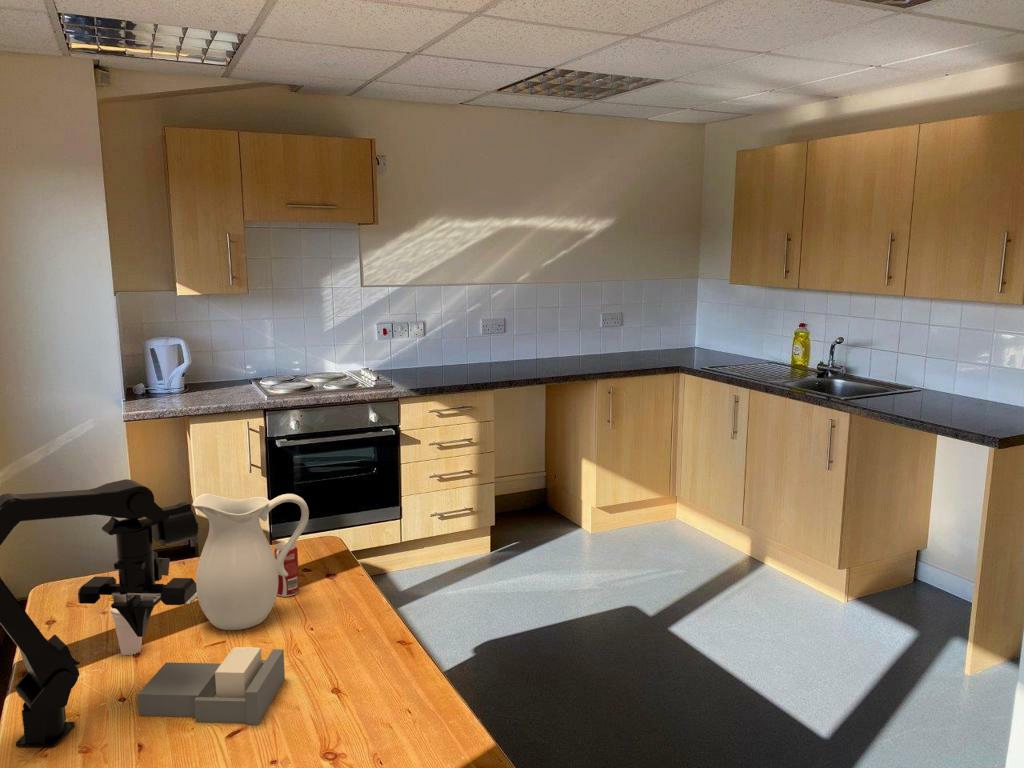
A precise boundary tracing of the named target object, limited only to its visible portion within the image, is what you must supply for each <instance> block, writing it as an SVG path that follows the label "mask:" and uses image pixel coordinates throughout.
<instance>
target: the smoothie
mask: <svg viewBox="0 0 1024 768" xmlns="http://www.w3.org/2000/svg"><path fill="white" fill-rule="evenodd" d="M110 615H111V616H112V619H113V623H114V627H115V633H116V637H117V641H118V646H119V651H120V654H121V653H122V654H124V655H123V656H125V655H129V656H134V655H136V653H137V654H139V653H140V652H141V651H142V643H143V637H138V636H137V635H136V634H135V632H134V631H133V629H132V628H131V626H130V625H129V623H128V622H127V621H126V619H125V618H124V617H123V616H122V615H121V614H120V613H119V611H118V610H117V609H115V608H112V607H111V606H110ZM138 652H139V653H138ZM122 654H121V655H122ZM133 654H134V655H133Z"/></svg>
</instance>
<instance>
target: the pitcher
mask: <svg viewBox="0 0 1024 768" xmlns="http://www.w3.org/2000/svg"><path fill="white" fill-rule="evenodd" d="M284 503H294V504H297V505H298V506H299V508H300V512H301V513H300V514H301V516H300V519H299V522H298V525H297V526H296V529H295V530H294V532H293V533H292V535H291V537H290V538H289V539H288V542H287V541H286V542H287V543H286V545H285V546H284V548H283V549H282V551H281V552H280V554H279V555H278V557H277V559H275V555H274V551H273V549H272V546H271V544H270V543H269V541H268V539H267V536H266V534H265V532H264V531H263V529H262V525H261V522H260V519H261V521H263V522H267V521H268V516H269V515H268V514H269V513H270V512H271V511H272V509H274V508H276V507H277V506H278V505H281V504H284ZM191 507H193V508H194V509H197V510H198V511H199V512H201V513H202V514H204V515H205V517H206V518H207V521H208V523H209V529H208V534H207V537H206V541H205V542H204V545H203V549H202V552H201V553H200V558H199V561H198V564H197V570H196V575H195V576H196V578H195V582H196V587H197V600H198V604H199V606H200V608H201V611H202V612H203V614H204V615H205V616H206V618H207V620H208V621H209V622H210V623H211V624H212V625H213V626H214V627H215V628H217V629H220V630H225V631H239V630H245V629H246V630H247V629H249V628H253V627H255V626H257V625H259V624H261V623H263V621H265V620H266V618H267V617H268V616H269V614H270V612H271V610H272V609H273V607H274V604H275V602H276V600H277V596H278V595H277V592H278V575H281V576H285V577H286V576H288V573H287V572H286V570H285V568H284V559H285V557H286V555H287V553H288V552H289V550H290V549H291V547H292V546H293V545H294V543H296V542H297V540H298V539H299V538H300V536H301V535H302V533H303V532H304V530H305V528H306V526H307V524H308V522H309V515H310V510H309V507H308V504H307V503H306V500H304V498H303V497H301V496H299V495H297V494H295V493H285V494H283V493H282V494H281V495H278V496H276V497H274V498H273V499H271V500H270V499H268V498H267V497H264V496H254V497H248V498H243V499H235V498H229V497H224V496H221V495H216V494H212V493H203V494H200V495H198V496H197V497H196V498H195V499H194V500H193V502H192V504H191Z"/></svg>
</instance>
